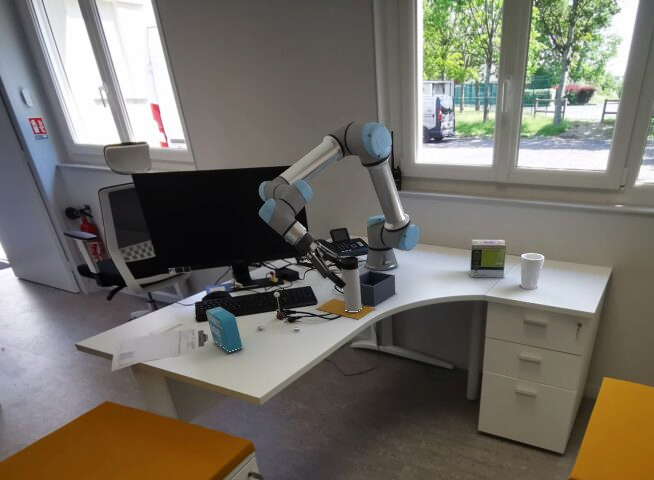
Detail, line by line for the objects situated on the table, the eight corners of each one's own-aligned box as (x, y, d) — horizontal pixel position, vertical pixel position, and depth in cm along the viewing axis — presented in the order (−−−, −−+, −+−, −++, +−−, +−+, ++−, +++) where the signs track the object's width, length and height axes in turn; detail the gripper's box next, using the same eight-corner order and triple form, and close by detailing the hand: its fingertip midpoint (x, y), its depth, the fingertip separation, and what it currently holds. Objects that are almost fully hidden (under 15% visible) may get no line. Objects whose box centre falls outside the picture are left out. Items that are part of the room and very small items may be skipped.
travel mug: (364, 308, 174) (361, 256, 164) (357, 314, 169) (353, 261, 158) (350, 306, 176) (345, 254, 165) (342, 312, 171) (337, 260, 160)
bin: (348, 300, 182) (346, 281, 178) (370, 288, 193) (369, 270, 189) (374, 306, 177) (373, 287, 172) (395, 293, 188) (394, 275, 184)
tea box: (502, 271, 212) (505, 239, 204) (503, 278, 204) (506, 245, 196) (469, 270, 213) (471, 238, 205) (469, 277, 205) (471, 244, 197)
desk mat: (315, 309, 174) (315, 308, 174) (333, 299, 183) (333, 298, 182) (358, 319, 166) (358, 318, 166) (375, 309, 174) (374, 308, 174)
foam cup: (541, 284, 197) (546, 254, 190) (537, 291, 190) (541, 261, 183) (520, 281, 200) (524, 252, 193) (515, 288, 193) (518, 258, 186)
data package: (213, 342, 151) (204, 309, 144) (226, 338, 154) (218, 305, 147) (230, 354, 144) (221, 320, 137) (243, 350, 146) (235, 315, 140)
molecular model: (290, 315, 170) (284, 283, 163) (300, 331, 158) (295, 297, 152) (253, 322, 164) (246, 289, 158) (261, 338, 153) (254, 304, 146)
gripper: (302, 236, 170) (345, 275, 178) (284, 256, 149) (334, 299, 157) (314, 222, 167) (357, 262, 175) (298, 240, 146) (348, 285, 154)
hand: (346, 280), depth 166 cm, fingers open, 13 cm apart
